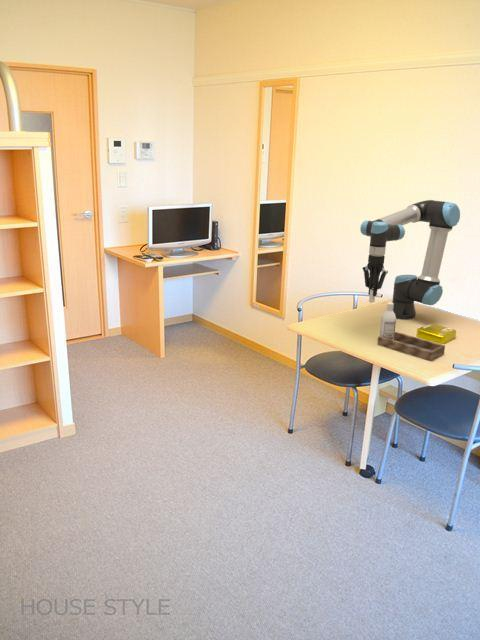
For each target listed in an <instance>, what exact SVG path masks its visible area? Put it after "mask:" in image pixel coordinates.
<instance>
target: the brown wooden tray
mask: <svg viewBox="0 0 480 640" xmlns="http://www.w3.org/2000/svg"><path fill="white" fill-rule="evenodd" d="M377 346H380V347H384V348H387V349H391V350H394V351H396V352H400V353H403V354H405V355H410V356H413V357H416V358H420V359H423V360H426V361H429V362H432V361H434V360H436V359H438V358H439V357H441V356H442V355H444V354H445V349H446V345H445V344H439V343H435V342H432V341H428V340H425V339H421V338H418V337H417V336H412V335H408V334H405V333H401V332H399V331H395V335H394V340H391V339H388V338H384V337H381V336H380V335H379V336H378V337H377Z"/></svg>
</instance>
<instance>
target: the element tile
mask: <svg viewBox="0 0 480 640" xmlns="http://www.w3.org/2000/svg"><path fill="white" fill-rule="evenodd" d="M456 335H457V330H456V329H455V328H450V327H446V326H442V325H439V324H436V323H430V322H429V323H428V324H426V325H423V326H421V327H419V328H417V330H416V338H420V339H423V340H427V341H430V342H434V343H438V344H441V345H445V344H447V343H449V342H450V341H453V340H455V339H456V337H457V336H456Z"/></svg>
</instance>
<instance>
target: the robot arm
mask: <svg viewBox="0 0 480 640" xmlns="http://www.w3.org/2000/svg"><path fill="white" fill-rule="evenodd" d="M460 218H461V210H460V208H459V206H458V205H457V203H454V202H451V201H442V200H433V199H428V200H423V201H418V202H416V203H413V204H410V205H408V206H407V207H406V208H404V209H402V210H399V211H396V212H393V213H391V214H388V215H386V216H383V217H380V218H377V219H375V220H363V222H362V223H361V224H360V233H361V235H364V236H366V237H369V240H370V241H369V249H368V253H369V254H368V257H367V264H366V265H365V266H363V267H362V271H363V275H364V283H365V288H367V289H368V296H369V298H368V302H369V303H371V304H372V303H375V300H376V296H377V295H378V290H381V289H382V287H383V285H384V280H385V278H386V275H387V274H388V273H389V271H388V270H386V269H385V266H384V263H385V259H386V257H385V255H386V246H387V242H393V241H400V240H402V239H403V238H404V237H405V234H406V230H405V227H404V225H408V224H410V223H412V224H413V223H414V224H415V223H419V222H424V223H429V224H428V227H429V229H430V233H429V238H428V241H427V242H428V244H427V247H426V251H425V256H424V261H423V265H422V270H421V274H420V275H419V276H417V275H416V274H400V275H397V276H396V277H394V278H395V279H394V282H393V283H394V284H393V292H392V293H393V294H392V301H391V303H394V306H393V312H394V313H395V316H396V319H397V320H398V319H400V320H411V319H415V318H416V317H417V315H416V313H417V311H416V307H415V302H417V303H420V304H423V305H426V306H427V305H428V306H434V305H435V304H437V303H438V302H439V301H440V300H441V298H442V296H443V291H444V290H443V286H442V285H440V284H441V279H439V275H440V269H441V265H442V261H443V256H444V252H445V248H446V243H447V240H448V235H449V232H451V231H452V230H453V227H456V226H457V225H458V224H459V222H460Z"/></svg>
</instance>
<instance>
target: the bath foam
mask: <svg viewBox="0 0 480 640" xmlns="http://www.w3.org/2000/svg"><path fill="white" fill-rule="evenodd" d="M393 306H394V303H392V301H391V302H390V301H389V302H388V301H387V304H386V310H385V311H384V313H383V314H382V316H381V319H380V320H381V321H380V329H379V336H381V337H384V338H388V339H391V340H394V335H395V332H396V327H397V326H396V325H397V324H396V323H397V318H396V316H395V313H394V312H393ZM394 341H395V340H394Z"/></svg>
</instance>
